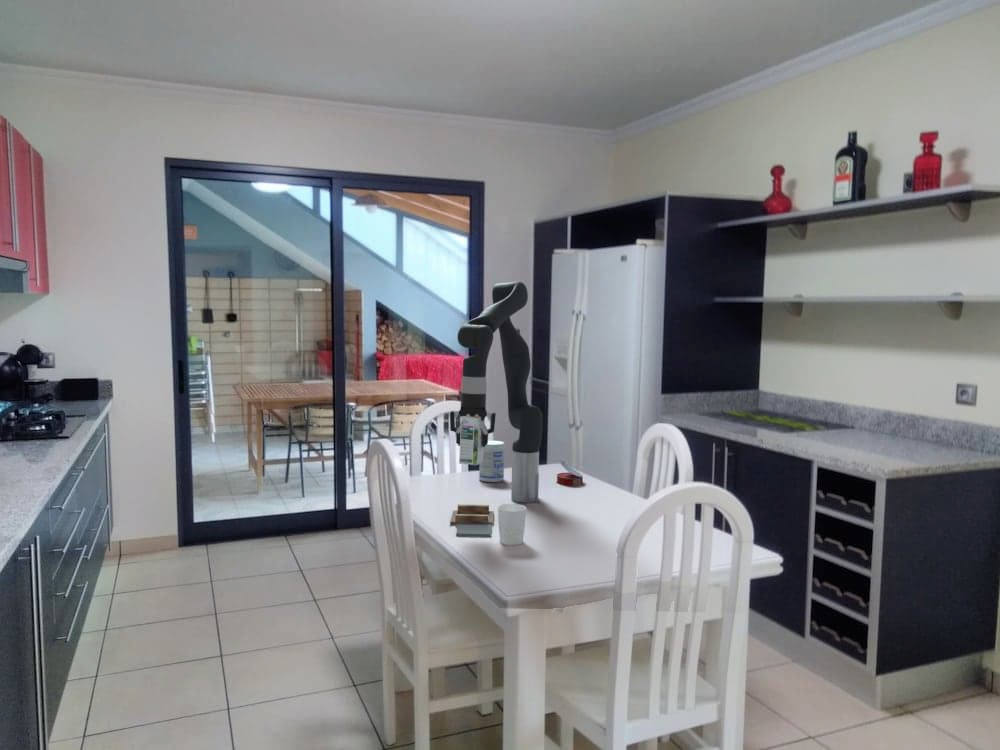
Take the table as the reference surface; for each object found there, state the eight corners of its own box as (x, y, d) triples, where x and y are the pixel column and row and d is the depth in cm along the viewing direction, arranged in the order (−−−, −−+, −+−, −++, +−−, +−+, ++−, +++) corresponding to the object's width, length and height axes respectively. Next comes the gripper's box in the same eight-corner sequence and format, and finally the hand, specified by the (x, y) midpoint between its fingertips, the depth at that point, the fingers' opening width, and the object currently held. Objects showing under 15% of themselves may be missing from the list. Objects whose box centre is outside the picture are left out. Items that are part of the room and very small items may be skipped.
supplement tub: (497, 484, 274) (498, 445, 273) (474, 481, 278) (475, 443, 276) (507, 478, 283) (508, 441, 281) (485, 476, 287) (486, 439, 285)
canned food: (565, 491, 284) (572, 467, 287) (585, 493, 276) (591, 469, 279) (547, 481, 277) (554, 457, 280) (566, 484, 269) (573, 458, 272)
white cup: (498, 537, 211) (498, 503, 210) (525, 537, 210) (526, 504, 209) (497, 545, 203) (497, 510, 202) (525, 546, 202) (526, 511, 202)
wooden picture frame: (493, 514, 234) (493, 505, 233) (492, 525, 221) (493, 516, 221) (453, 513, 234) (453, 504, 233) (450, 524, 221) (450, 515, 221)
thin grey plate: (491, 526, 220) (491, 523, 220) (490, 536, 210) (490, 534, 210) (458, 525, 220) (458, 523, 220) (456, 536, 211) (456, 533, 210)
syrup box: (458, 463, 218) (460, 415, 217) (466, 460, 224) (468, 413, 222) (475, 465, 216) (477, 417, 215) (483, 462, 221) (485, 415, 220)
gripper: (498, 391, 222) (496, 444, 223) (451, 389, 222) (449, 442, 223) (497, 393, 214) (495, 449, 215) (448, 391, 215) (446, 447, 216)
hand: (471, 445), depth 219 cm, fingers closed on syrup box, 7 cm apart
